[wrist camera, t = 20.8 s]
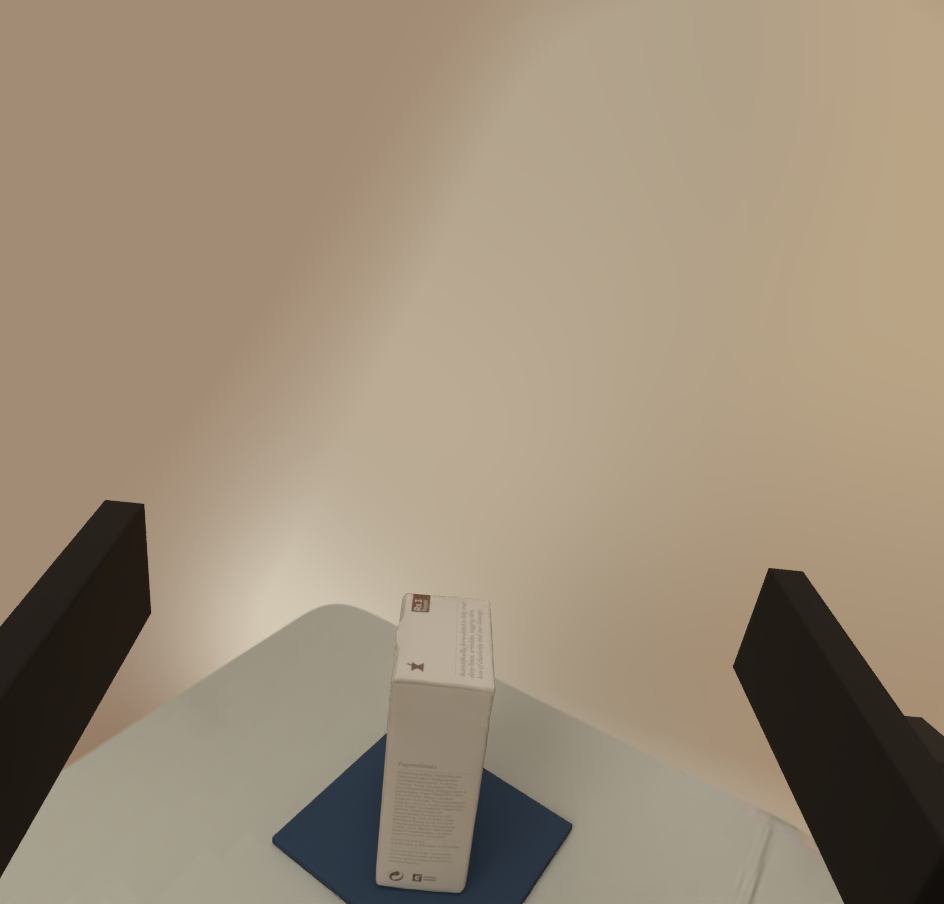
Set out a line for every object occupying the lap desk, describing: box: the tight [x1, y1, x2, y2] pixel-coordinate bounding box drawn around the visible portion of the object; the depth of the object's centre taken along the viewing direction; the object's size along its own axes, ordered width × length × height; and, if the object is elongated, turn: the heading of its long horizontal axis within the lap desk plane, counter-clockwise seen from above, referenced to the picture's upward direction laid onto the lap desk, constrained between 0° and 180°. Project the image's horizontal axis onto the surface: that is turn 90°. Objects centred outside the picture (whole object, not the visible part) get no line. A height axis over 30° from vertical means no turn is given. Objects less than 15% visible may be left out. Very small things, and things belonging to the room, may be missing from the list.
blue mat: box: [272, 733, 572, 904], centre depth 38 cm, size 11×10×1 cm
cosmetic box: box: [376, 593, 495, 893], centre depth 35 cm, size 6×4×12 cm
